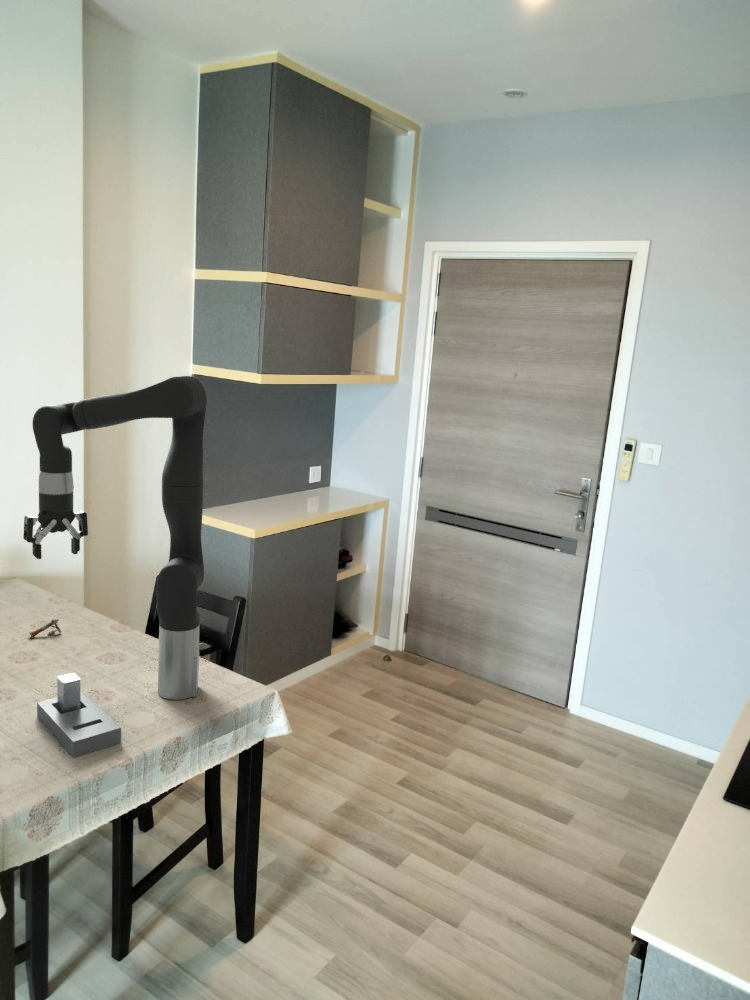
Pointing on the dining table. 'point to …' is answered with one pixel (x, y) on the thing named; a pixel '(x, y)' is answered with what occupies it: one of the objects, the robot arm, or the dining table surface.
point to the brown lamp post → (46, 628)
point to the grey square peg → (68, 693)
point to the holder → (80, 726)
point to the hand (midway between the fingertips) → (56, 555)
